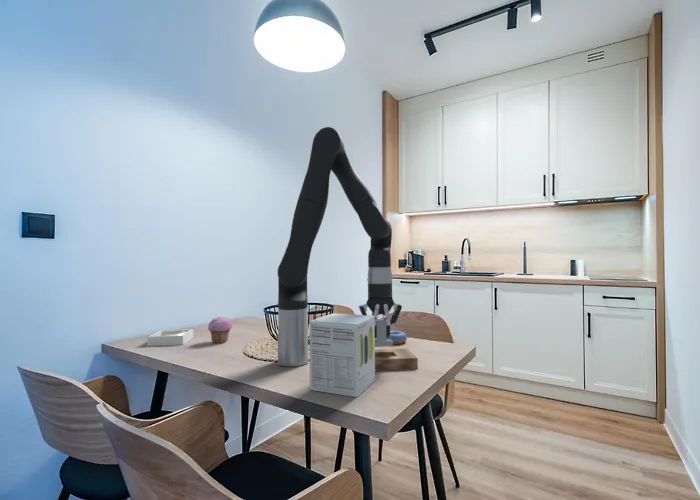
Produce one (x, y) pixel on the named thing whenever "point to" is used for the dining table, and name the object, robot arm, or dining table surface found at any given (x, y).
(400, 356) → the frame
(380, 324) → the grey metal t-block
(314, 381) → the supplement box
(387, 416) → the dining table surface
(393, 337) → the doughnut
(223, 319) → the cupcake
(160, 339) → the tray
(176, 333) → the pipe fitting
